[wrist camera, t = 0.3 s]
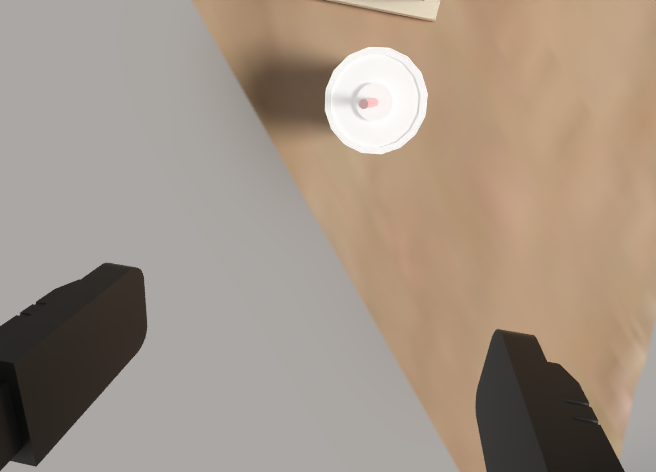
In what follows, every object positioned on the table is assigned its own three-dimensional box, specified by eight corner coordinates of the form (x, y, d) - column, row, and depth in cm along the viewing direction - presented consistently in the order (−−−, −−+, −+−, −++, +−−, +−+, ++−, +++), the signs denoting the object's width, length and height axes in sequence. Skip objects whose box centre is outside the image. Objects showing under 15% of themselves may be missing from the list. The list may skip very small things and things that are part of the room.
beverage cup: (403, 41, 34) (388, 7, 21) (442, 114, 35) (450, 127, 22) (334, 86, 36) (280, 82, 23) (372, 154, 37) (341, 188, 24)
